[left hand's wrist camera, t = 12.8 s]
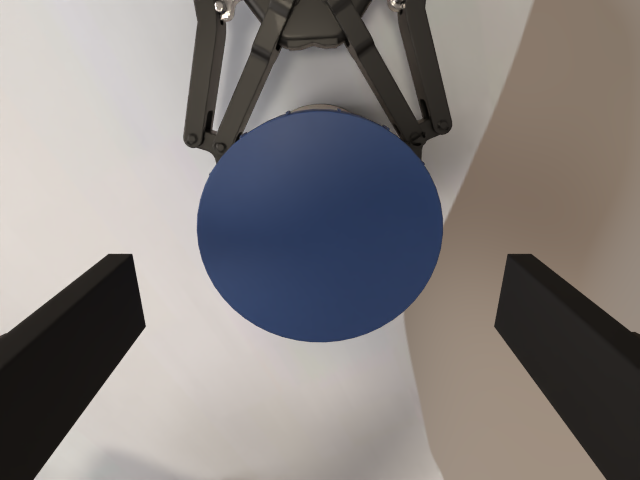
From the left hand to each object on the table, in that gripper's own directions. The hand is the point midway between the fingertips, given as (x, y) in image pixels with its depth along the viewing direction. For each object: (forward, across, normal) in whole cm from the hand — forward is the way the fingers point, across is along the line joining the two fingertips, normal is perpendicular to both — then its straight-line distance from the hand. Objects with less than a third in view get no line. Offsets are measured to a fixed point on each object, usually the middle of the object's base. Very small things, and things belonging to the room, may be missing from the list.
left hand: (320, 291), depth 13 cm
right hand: (+16, 0, -4) cm, 17 cm away
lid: (+5, 0, 0) cm, 5 cm away
